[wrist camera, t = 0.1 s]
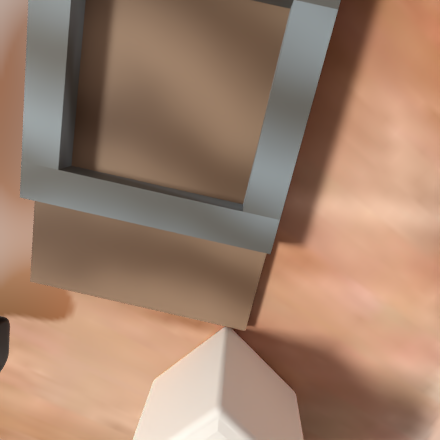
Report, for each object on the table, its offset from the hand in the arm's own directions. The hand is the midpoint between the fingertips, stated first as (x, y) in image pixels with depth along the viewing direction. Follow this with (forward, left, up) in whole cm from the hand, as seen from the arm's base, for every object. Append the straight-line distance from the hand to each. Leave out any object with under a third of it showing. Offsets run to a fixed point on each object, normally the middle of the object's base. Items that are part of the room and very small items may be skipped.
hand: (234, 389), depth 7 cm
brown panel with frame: (+2, +5, -15) cm, 16 cm away
